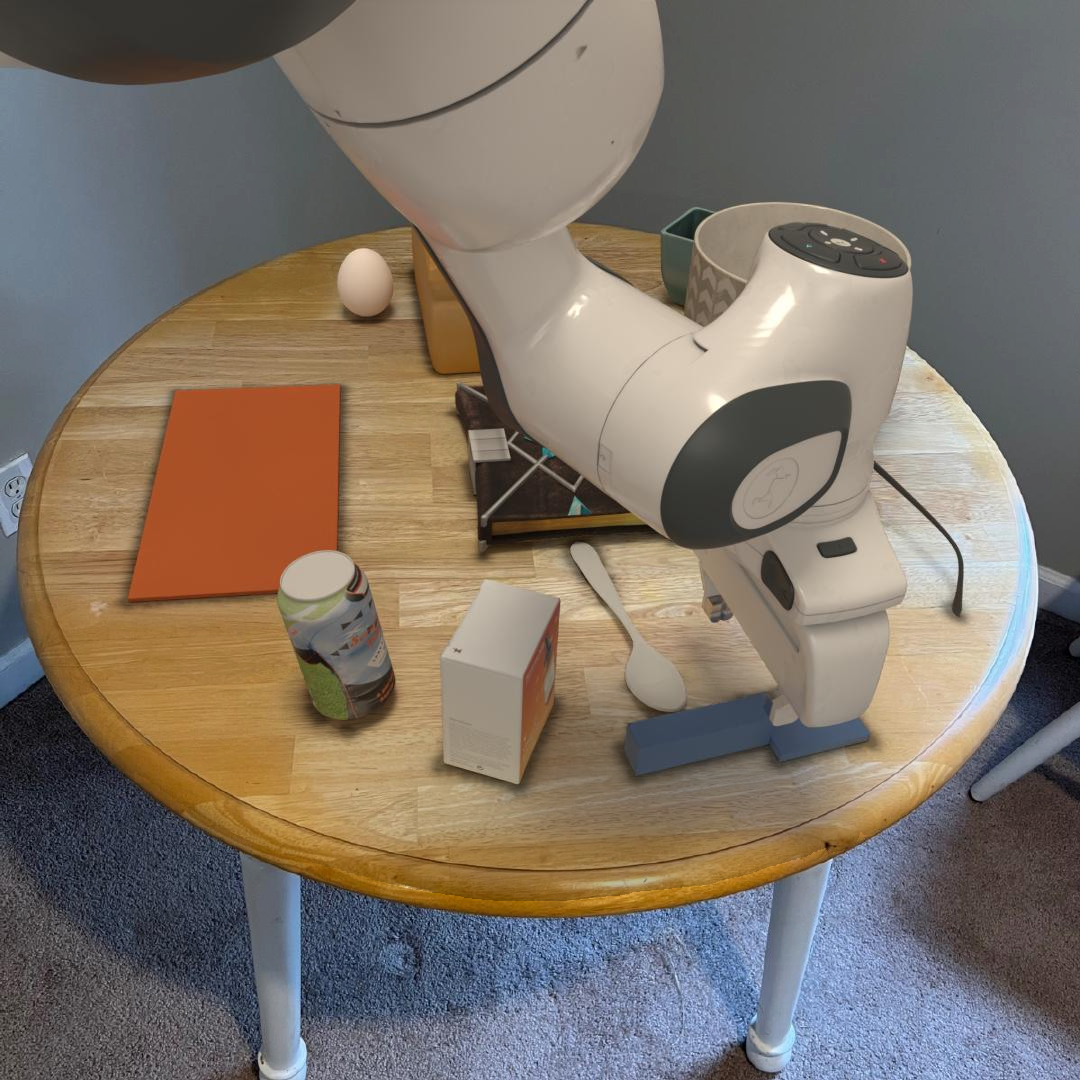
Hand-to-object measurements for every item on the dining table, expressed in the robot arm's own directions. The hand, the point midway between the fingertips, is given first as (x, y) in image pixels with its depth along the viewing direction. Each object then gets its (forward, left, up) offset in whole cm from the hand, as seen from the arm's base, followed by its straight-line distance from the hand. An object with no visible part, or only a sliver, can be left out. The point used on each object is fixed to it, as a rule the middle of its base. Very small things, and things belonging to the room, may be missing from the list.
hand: (746, 663), depth 72 cm
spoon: (+5, +12, -8) cm, 15 cm away
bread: (+39, +49, -8) cm, 64 cm away
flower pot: (+57, +30, -8) cm, 65 cm away
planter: (+39, +14, -8) cm, 43 cm away
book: (+19, +26, -8) cm, 33 cm away
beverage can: (-12, +25, -8) cm, 29 cm away
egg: (+32, +59, -8) cm, 68 cm away
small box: (-9, +14, -8) cm, 18 cm away
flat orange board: (+2, +48, -8) cm, 49 cm away
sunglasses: (+21, 0, -8) cm, 23 cm away
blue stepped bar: (0, -1, -8) cm, 8 cm away
